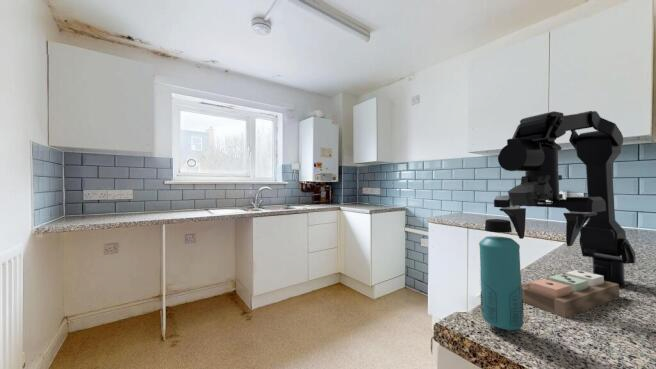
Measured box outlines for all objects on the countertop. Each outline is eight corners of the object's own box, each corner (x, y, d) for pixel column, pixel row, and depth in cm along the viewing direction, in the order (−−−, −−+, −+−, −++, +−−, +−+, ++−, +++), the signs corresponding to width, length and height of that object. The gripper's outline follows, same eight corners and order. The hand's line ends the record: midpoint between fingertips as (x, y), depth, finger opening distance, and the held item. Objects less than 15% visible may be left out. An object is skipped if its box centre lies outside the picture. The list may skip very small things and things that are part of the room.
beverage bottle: (532, 341, 44) (528, 221, 44) (488, 337, 45) (485, 221, 46) (513, 321, 51) (510, 217, 51) (475, 319, 52) (472, 217, 52)
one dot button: (543, 289, 61) (543, 278, 61) (570, 297, 56) (570, 285, 56) (530, 293, 59) (529, 281, 59) (556, 302, 54) (556, 289, 54)
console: (570, 284, 68) (570, 272, 69) (619, 297, 60) (619, 284, 60) (516, 300, 60) (516, 286, 60) (565, 317, 52) (564, 302, 52)
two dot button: (577, 280, 66) (576, 269, 66) (604, 286, 61) (603, 275, 62) (565, 283, 64) (565, 272, 64) (592, 290, 60) (592, 278, 60)
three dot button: (561, 284, 63) (560, 273, 63) (588, 291, 59) (587, 280, 59) (548, 288, 61) (548, 276, 61) (575, 295, 57) (575, 283, 57)
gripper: (477, 173, 64) (479, 238, 64) (573, 167, 47) (577, 256, 46) (507, 173, 68) (509, 234, 68) (605, 168, 51) (608, 249, 51)
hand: (543, 242), depth 58 cm, fingers open, 9 cm apart
